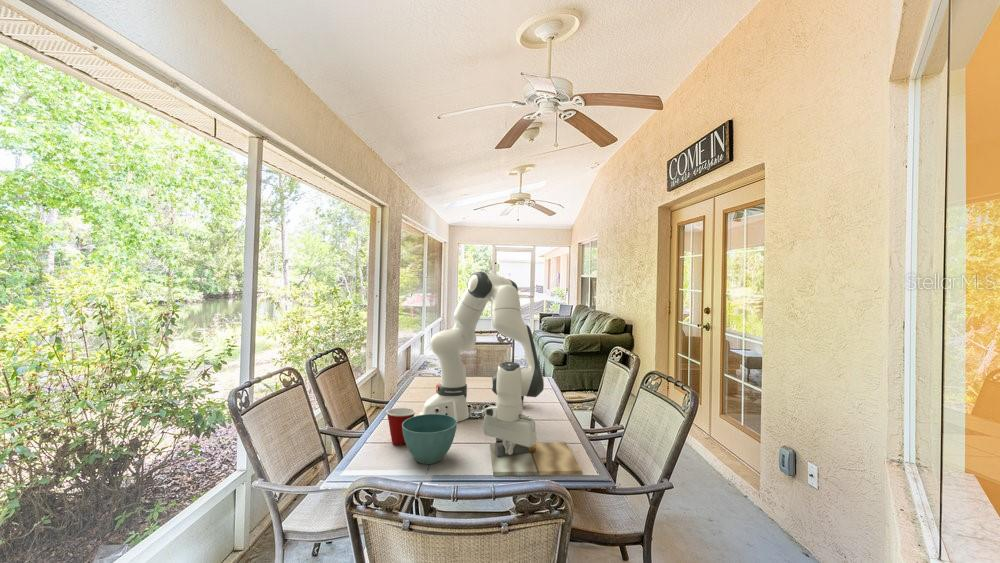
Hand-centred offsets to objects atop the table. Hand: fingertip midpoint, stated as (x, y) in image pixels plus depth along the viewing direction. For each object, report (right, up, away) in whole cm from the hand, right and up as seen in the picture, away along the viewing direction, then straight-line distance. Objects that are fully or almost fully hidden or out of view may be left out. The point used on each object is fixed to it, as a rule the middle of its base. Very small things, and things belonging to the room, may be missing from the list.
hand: (509, 453), depth 134 cm
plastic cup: (-40, -2, +15) cm, 43 cm away
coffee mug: (+5, -3, +61) cm, 61 cm away
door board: (+8, -3, +2) cm, 9 cm away
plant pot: (-27, -3, +2) cm, 27 cm away
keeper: (-2, -2, +9) cm, 9 cm away
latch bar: (+3, -1, +4) cm, 5 cm away
